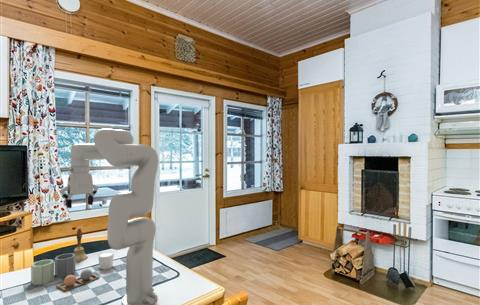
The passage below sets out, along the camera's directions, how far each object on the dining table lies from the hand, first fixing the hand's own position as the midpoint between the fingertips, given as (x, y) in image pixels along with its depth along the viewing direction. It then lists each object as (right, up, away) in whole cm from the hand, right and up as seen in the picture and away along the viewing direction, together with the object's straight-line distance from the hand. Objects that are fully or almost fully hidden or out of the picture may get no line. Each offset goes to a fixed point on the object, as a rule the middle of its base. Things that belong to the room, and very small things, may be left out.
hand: (79, 206), depth 131 cm
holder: (+7, -31, -13) cm, 35 cm away
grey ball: (+9, -30, -10) cm, 33 cm away
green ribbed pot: (-10, -31, -11) cm, 34 cm away
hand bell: (-10, -31, +16) cm, 37 cm away
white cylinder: (+11, -32, +4) cm, 33 cm away
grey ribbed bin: (-5, -31, -3) cm, 32 cm away
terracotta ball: (+5, -30, -16) cm, 34 cm away
